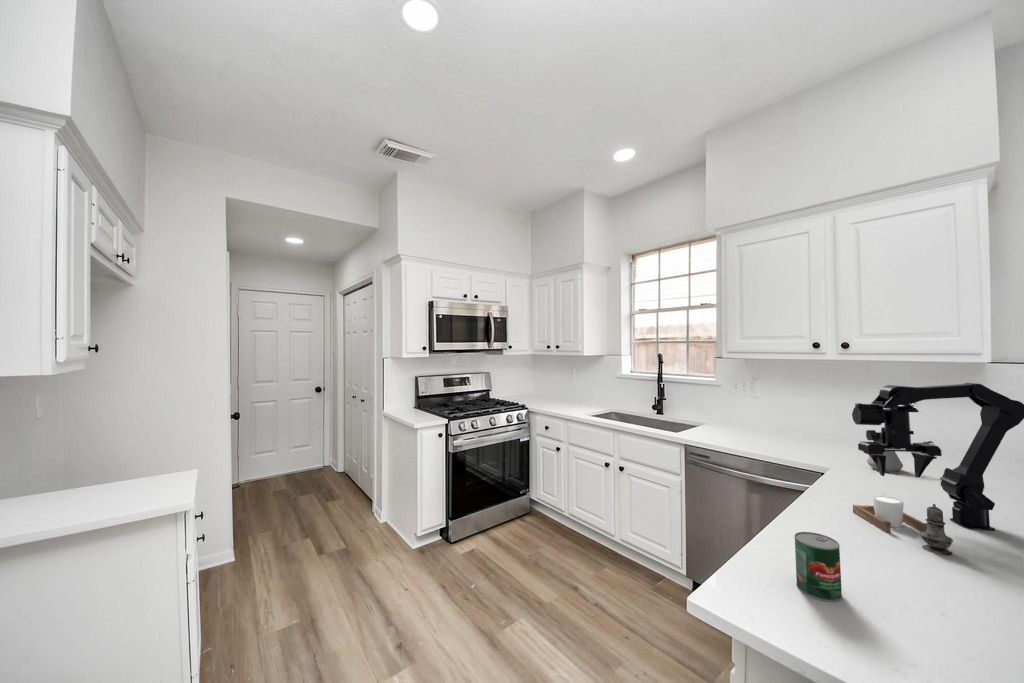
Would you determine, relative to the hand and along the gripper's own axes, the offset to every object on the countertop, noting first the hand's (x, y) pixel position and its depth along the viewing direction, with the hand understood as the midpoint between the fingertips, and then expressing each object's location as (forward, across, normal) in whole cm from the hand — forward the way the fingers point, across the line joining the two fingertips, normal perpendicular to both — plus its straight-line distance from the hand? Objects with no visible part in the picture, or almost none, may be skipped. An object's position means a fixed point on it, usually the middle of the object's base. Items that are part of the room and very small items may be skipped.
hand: (899, 476), depth 121 cm
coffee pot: (+13, -34, -54) cm, 65 cm away
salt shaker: (+13, +6, +21) cm, 25 cm away
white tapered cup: (+13, +6, +4) cm, 15 cm away
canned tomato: (+13, +45, +46) cm, 66 cm away
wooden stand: (+13, +6, +5) cm, 15 cm away
